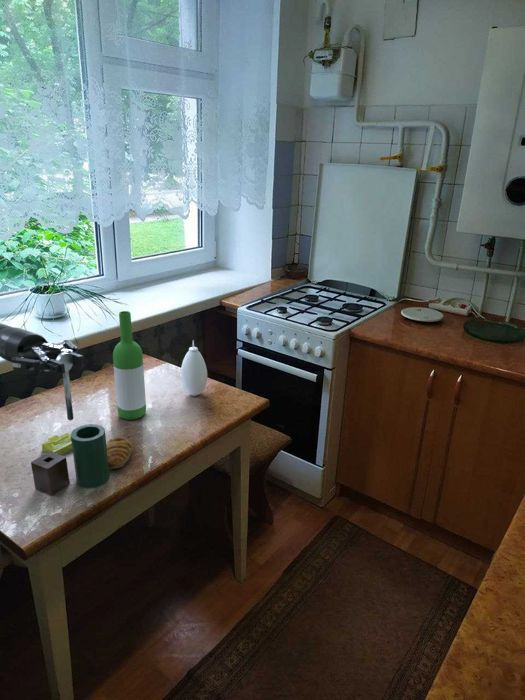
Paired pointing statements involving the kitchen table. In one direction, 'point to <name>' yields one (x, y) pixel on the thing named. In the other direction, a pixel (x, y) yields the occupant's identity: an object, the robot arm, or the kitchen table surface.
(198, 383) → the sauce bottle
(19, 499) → the kitchen table surface
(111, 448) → the pastry
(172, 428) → the kitchen table surface
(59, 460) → the spoon stand
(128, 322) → the wine bottle
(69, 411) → the spoon
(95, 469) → the green hollow tube
